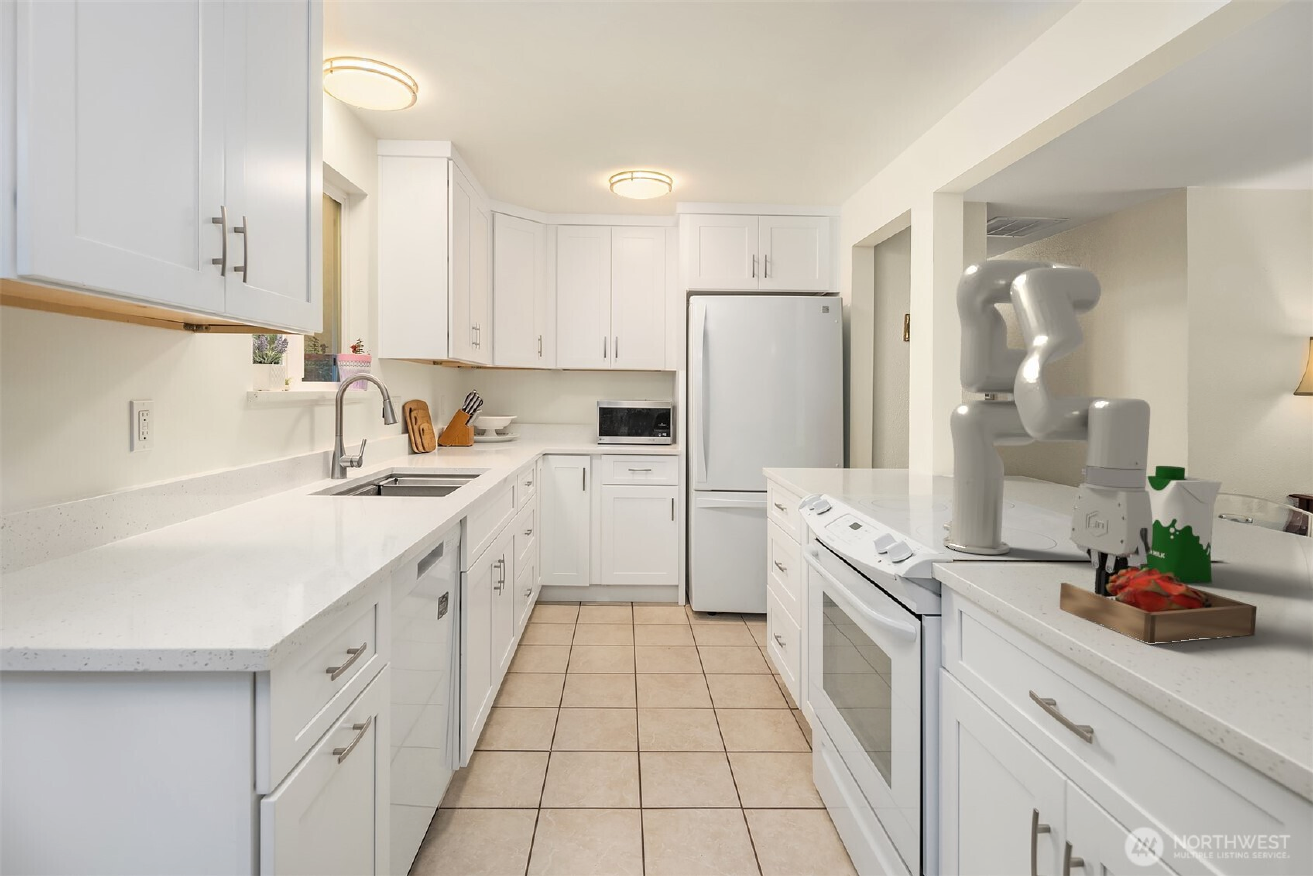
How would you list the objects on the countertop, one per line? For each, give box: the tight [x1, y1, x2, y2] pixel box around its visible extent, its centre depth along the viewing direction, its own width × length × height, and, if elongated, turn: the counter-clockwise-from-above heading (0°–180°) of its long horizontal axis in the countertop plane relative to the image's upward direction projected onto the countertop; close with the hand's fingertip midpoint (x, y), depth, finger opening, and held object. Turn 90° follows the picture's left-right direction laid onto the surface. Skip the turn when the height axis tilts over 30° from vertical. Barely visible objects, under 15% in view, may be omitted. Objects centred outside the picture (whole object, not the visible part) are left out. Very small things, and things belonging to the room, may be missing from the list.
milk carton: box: [1139, 465, 1223, 583], centre depth 108 cm, size 9×9×20 cm
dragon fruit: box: [1105, 566, 1211, 613], centre depth 87 cm, size 8×8×12 cm
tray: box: [1059, 582, 1258, 643], centre depth 87 cm, size 14×18×4 cm
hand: (1107, 594), depth 94 cm, fingers closed
